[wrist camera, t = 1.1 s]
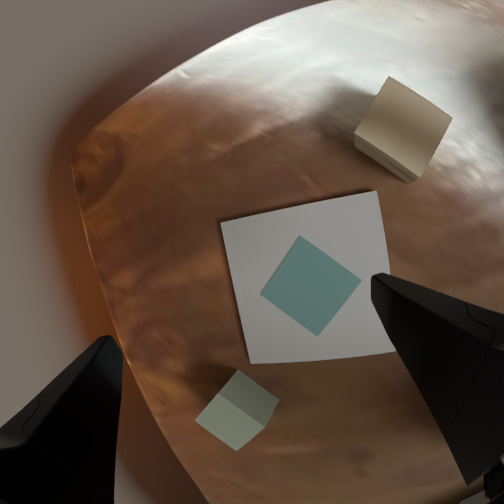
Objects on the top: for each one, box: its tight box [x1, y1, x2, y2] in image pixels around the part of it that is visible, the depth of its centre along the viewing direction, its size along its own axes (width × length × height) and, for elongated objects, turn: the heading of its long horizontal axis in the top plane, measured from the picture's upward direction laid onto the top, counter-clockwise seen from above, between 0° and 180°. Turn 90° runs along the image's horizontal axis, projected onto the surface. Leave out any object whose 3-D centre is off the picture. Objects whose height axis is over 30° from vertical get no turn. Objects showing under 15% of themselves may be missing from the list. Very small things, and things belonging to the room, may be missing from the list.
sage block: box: [195, 370, 279, 451], centre depth 28 cm, size 6×6×5 cm
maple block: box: [354, 76, 452, 184], centre depth 19 cm, size 6×6×5 cm
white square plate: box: [221, 191, 396, 364], centre depth 25 cm, size 14×14×1 cm
